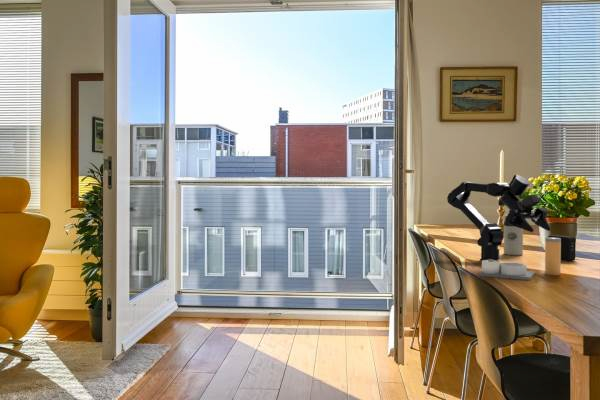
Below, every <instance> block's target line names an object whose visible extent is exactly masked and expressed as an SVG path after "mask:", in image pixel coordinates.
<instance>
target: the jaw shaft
mask: <svg viewBox="0 0 600 400" xmlns="http://www.w3.org/2000/svg"><path fill="white" fill-rule="evenodd" d="M544 241H545V243H544V245H545V246H544V247H545V248H544V252H545V254H544V274H545V275H549V276H560V275H561V264H562V263H561V261H562V260H561V238H548V237H545V240H544Z"/></svg>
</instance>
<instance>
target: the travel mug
mask: <svg viewBox="0 0 600 400" xmlns="http://www.w3.org/2000/svg"><path fill="white" fill-rule="evenodd" d="M507 215H508V214H504V217H505V218H506V216H507ZM505 218H504V219H505ZM503 233H504V238H503V254H504V255H506V254H507V255H508V256H522V255H523V254H524V253H523V252H524V248H523V247H524V246H523V245H524V229H521V228H518V227H515V226H512V225H508V224H507V223H506V222H505V220H504V222H503ZM507 255H506V256H507Z"/></svg>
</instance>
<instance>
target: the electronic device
mask: <svg viewBox="0 0 600 400" xmlns="http://www.w3.org/2000/svg"><path fill="white" fill-rule="evenodd" d="M547 238H561V261H562V262H572V261H576V250H577V249H576V247H577V245H576V244H577V243H576V242H577V241H576V237H575V236H569V235H568V236H567V235H559V234H554V235H553V234H552V235H548V236H547Z"/></svg>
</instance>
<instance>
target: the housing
mask: <svg viewBox="0 0 600 400" xmlns="http://www.w3.org/2000/svg"><path fill="white" fill-rule="evenodd" d="M527 268H528V267H527V264H526V263H522V262H513V261H510V262H509V261H507V262H506V261H504V262H501V261H499V260H497V261H496V260H493V259H488V260H481V271H480V272H479V277H487V278H498V277H500V278H501V279H509V278H511V280H519V281H531V279H533V277H534V276H535V271H533V270H527Z"/></svg>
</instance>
